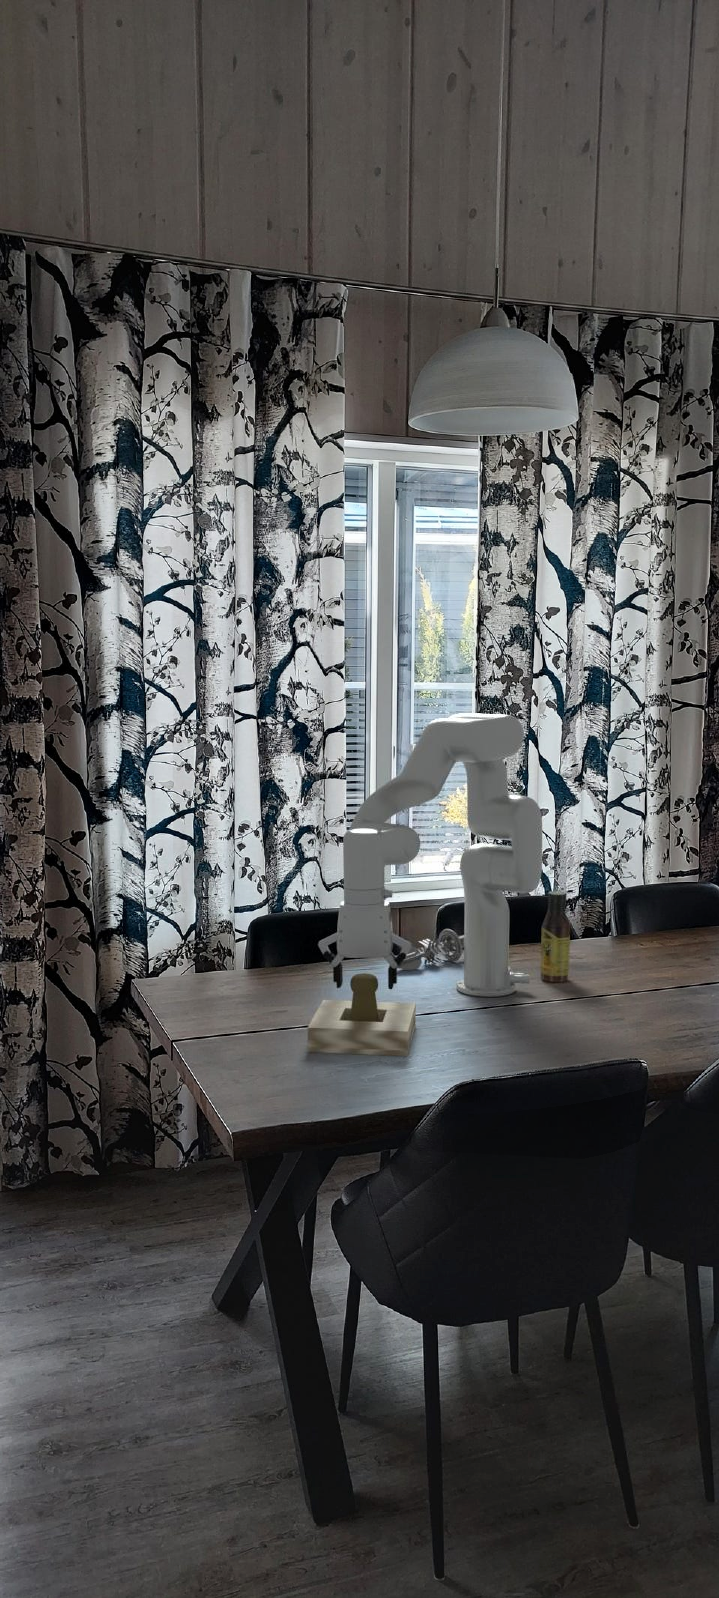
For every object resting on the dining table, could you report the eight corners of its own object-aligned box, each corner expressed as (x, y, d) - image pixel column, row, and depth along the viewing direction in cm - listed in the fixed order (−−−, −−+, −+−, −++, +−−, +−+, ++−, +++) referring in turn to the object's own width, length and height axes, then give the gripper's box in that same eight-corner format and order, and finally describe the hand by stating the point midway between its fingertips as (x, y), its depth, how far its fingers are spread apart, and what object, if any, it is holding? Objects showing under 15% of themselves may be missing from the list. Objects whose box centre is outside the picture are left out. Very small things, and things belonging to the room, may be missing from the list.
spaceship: (517, 922, 281) (495, 905, 286) (408, 959, 260) (386, 940, 265) (510, 949, 284) (488, 932, 290) (402, 987, 263) (380, 968, 268)
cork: (381, 1028, 219) (381, 971, 218) (379, 1037, 213) (379, 979, 212) (349, 1027, 220) (349, 970, 219) (346, 1037, 214) (346, 978, 213)
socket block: (415, 1026, 224) (415, 1003, 224) (407, 1056, 206) (407, 1031, 206) (323, 1022, 226) (323, 999, 226) (307, 1052, 209) (307, 1027, 208)
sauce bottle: (537, 976, 261) (538, 889, 259) (564, 976, 262) (566, 889, 260) (544, 984, 255) (545, 894, 253) (572, 983, 255) (574, 894, 253)
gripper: (412, 892, 216) (413, 982, 218) (321, 891, 218) (322, 980, 220) (409, 901, 209) (410, 993, 211) (314, 899, 211) (315, 991, 213)
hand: (365, 986), depth 216 cm, fingers open, 9 cm apart
